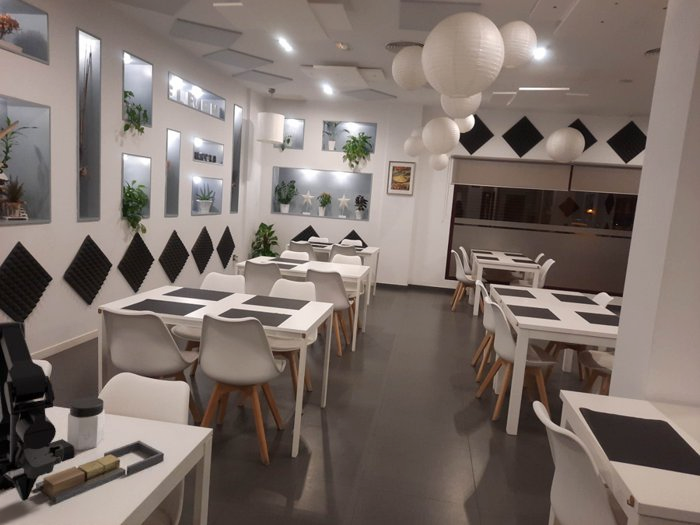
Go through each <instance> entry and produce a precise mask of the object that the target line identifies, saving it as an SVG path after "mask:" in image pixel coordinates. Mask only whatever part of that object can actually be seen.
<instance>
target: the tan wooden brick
mask: <svg viewBox="0 0 700 525" xmlns="http://www.w3.org/2000/svg"><path fill="white" fill-rule="evenodd" d="M84 477H85V473H84V472H83V471H81V470H79V469H78V467H76V466H72V467H70V468H66V469H64V470H60V471H59V472H56V473H53V474H50V475H47V476H45V477H43V480H42V481H43V491H44V492H45V493H46V494H48V495H49V496H50V497H52V495H54V494H56V493H59V492H61V491H64V490H66V489H69V488H71V487H74V486H76V485H79V484H81V483H84Z"/></svg>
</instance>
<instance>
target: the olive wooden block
mask: <svg viewBox="0 0 700 525" xmlns="http://www.w3.org/2000/svg"><path fill="white" fill-rule="evenodd" d="M95 460H96V459H95ZM95 460H92V461H89V462H86V463H83V464H81V465H78V467H77V468H78V469H79V470H81V471H83V472H84V473H85V477H84V482H86V481H89V480H91V479H94V478H96V477H99V476H101V475H103V473H104V466H103V465H102V464H100V463H98V462H97V461H95Z"/></svg>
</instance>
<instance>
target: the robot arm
mask: <svg viewBox="0 0 700 525" xmlns="http://www.w3.org/2000/svg"><path fill="white" fill-rule="evenodd" d="M25 325H26V324H25V323H23V322H20V321H6V322H5V321H3V322H0V491H6V490H9V489H13V488H15V489H16V491H17V494H18V496H19V497H20V499H21V501H23V502H25V501H27V500H28V499H29V498H30V495H31V493H32V490H33V488H34V486H35V485H36V483H37V480H38V478H39V477H41V476H43V475H46V474H51V473H52V472H53V471H54V469H55V466H56V465H59V464H61V463H63V462H65V461H69V460H72V459H74V458H75V457H76V449H75V447H74V446H73V445H71V444H70V443H68V442H67V440H65V439H63V438H60V439H58V440H55V441H53V440H54V439H55V437H56V434H57V433H56V432H57V429H56V427H55V425H54V423H52V421H51V420H50V418H48V416H47V415H46V410H47V409H49V408H54V401H55V400H56V398H55V393H54V388H53V384H52V380H50V377H49V376H48V375H46V374H45V371H44V369H43V367H42V366H41V365H40V364H37V363H36V362H34V361H33V359H32V356H31V353H30V350H29V347H28V344H27V341H26V327H25ZM44 397H45V399H43V398H44ZM40 399H41V400H40Z"/></svg>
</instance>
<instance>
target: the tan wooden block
mask: <svg viewBox="0 0 700 525" xmlns="http://www.w3.org/2000/svg"><path fill="white" fill-rule="evenodd" d="M95 461H97V462H98V463H100V464H102V465H103V466H104V473H103V475H104V474H106V473H109V472H111V471H114V470H116V469H119V468H121V467H120V466H121V464H120V463H121V460H120V458H119V457H117V458H116V457H115V456H113V455H111V454H110V455H107V456H105V457H104V456H103V457H100V458H97V459H95Z"/></svg>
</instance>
